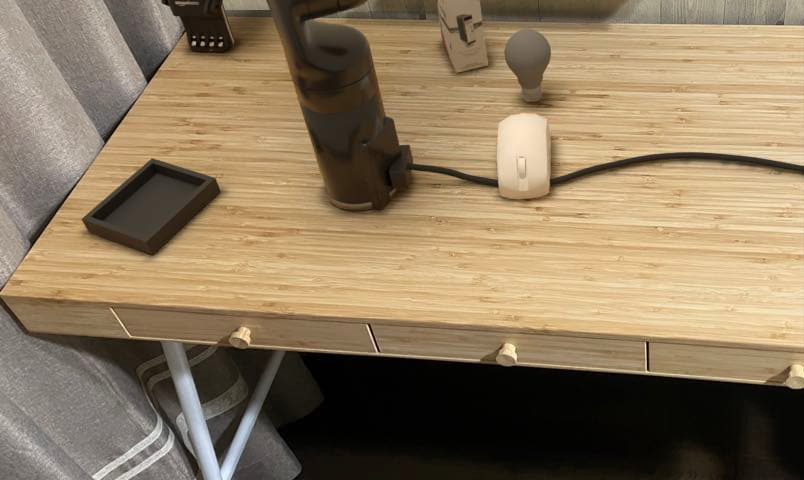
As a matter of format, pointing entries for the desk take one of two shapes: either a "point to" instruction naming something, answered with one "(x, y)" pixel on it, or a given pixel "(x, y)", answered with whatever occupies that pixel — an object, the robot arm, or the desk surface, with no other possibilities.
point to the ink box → (463, 33)
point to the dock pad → (151, 206)
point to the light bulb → (528, 61)
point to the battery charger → (203, 26)
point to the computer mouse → (524, 156)
